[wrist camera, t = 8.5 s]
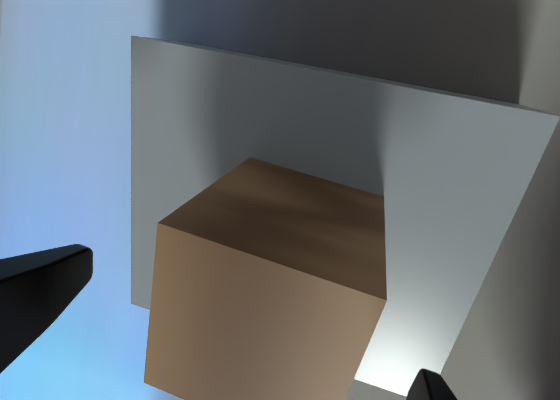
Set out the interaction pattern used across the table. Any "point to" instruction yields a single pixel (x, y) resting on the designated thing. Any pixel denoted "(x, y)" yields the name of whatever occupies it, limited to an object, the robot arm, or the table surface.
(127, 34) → the table surface
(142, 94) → the slate box
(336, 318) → the walnut block
